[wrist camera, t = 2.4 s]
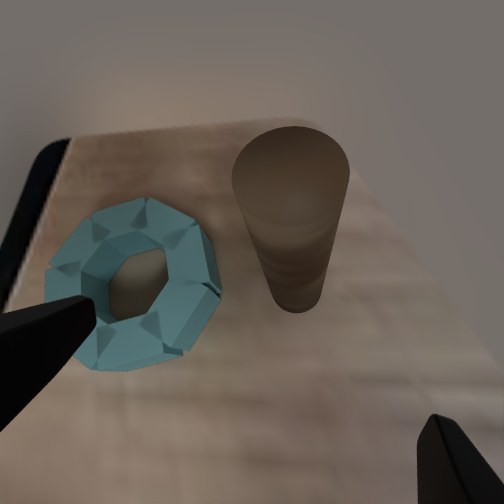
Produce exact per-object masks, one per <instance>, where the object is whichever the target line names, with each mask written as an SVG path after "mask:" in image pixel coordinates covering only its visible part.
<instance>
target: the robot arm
mask: <svg viewBox="0 0 504 504" xmlns="http://www.w3.org/2000/svg"><path fill="white" fill-rule="evenodd" d="M96 324H97V317H96V310H95V303H94V301H93V299H91V298H89V297H86V296H83V295H76V296H72V297H68V298H64V299H60V300H56V301H52V302H48V303H44V304H40V305H36V306H32V307H28V308H24V309H20V310H16V311H12V312H8V313H4V314H0V432H1V431H2V430H3V429H4V428H5V427H6V426H7V425H8V424H9V423H10V422H11V421H12V420H13V419H14V418H15V417H16V416H17V415H18V414H19V413H20V412H21V411H22V410H23V409H24V408H25V407H26V406H27V405H28V403H29V402H30V401H31V400H32V399H33V398H34V397H35V396H36V395H37V394H38V393H39V392H40V391H41V390H42V389H43V388H44V387H45V386H46V385H47V384H48V383H49V382H50V381H51V380H52V379H53V378H54V377H55V376H56V375H57V373H58V372H59V371H60V370H61V369H62V368H63V366H64V365H65V364H66V363H67V362H68V360H69V359H70V358H71V357H72V356H73V354H74V353H75V352H76V351H77V349H78V348H79V347H80V346H81V345H82V343H83V342H84V341H85V340H86V339H87V337H88V336H89V335H90V334H91V332H92V331H93V330H94V329H95V327H96ZM417 484H418V504H504V484H503V482H502V481H501V480H500V478H499V477H498V476H497V475H496V473H495V472H494V471H493V469H492V468H491V467H490V465H489V464H488V463H487V462H486V460H485V459H484V458H483V456H482V455H481V454H480V452H479V451H478V450H477V449H476V447H475V446H474V445H473V443H472V442H471V441H470V439H469V438H468V437H467V436H466V434H465V433H464V432H463V430H462V429H461V428H460V426H459V425H458V424H457V423H456V422H455V421H454V420H452V419H450V418H447V417H444V416H441V415H438V414H432V415H431V416H430V417H429V419H428V420H427V422H426V424H425V426H424V428H423V430H422V431H421V433H420V435H419V437H418V441H417Z"/></svg>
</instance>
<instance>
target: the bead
mask: <svg viewBox="0 0 504 504" xmlns="http://www.w3.org/2000/svg"><path fill="white" fill-rule="evenodd" d="M155 248H158V249H160V250H162V251H164V252H165V254H166V261H167V268H168V275H169V281H168V282H167V284H166V285H165V287H164V288H163V290H162V291H161V293H160V294H159V295H158V297H157V298H156V300H155V301H154V303H153V304H152V306H151V307H150V309H149V310H148V312H147V313H146V314H144V315H140V316H137V317H133V318H130V319H126V320H123V321H119V320H118V319H116V318H115V317H113V316H112V315H110V306H109V289H108V283H109V281H110V280H111V279H112V277H113V276H114V275H115V273H116V272H117V270H118V269H119V268H120V266H121V265H122V264H123V262H124V261H125V260H126V258H127V257H128V256H131V255H135V254H138V253H141V252H145V251H148V250H152V249H155ZM49 264H50V265H52V266H53V267H54V268H51V269H47V270H46V273H45V303H48V302H52V301H56V300H60V299H64V298H68V297H72V296H76V295H83V296H86V297H89V298H91V299H93V301H94V303H95V310H96V317H97V324H96V327H95V329H94V330H93V331H92V332H91V334H90V335H89V336H88V337H87V339H86V340H85V341H84V342H83V343H82V345H81V346H80V347H79V348H78V349H77V351H76V352H75V353H74V354H73V356H74V357H75V358H76V359H78V360H79V361H80V362H81V363H83V364H84V365H85V366H86V367H88V368H89V369H90V370H98V371H126V372H127V371H130V370H134V369H138V368H141V367H145V366H148V365H152V364H156V363H159V362H163V361H166V360H170V359H174V358H177V357H181V356H183V352H182V350H186V351H190V349H191V347H192V346H193V344H194V342H195V341H196V339H197V338H198V336H199V334H200V333H201V331H202V330H203V328H204V326H205V325H206V323H207V321H208V320H209V318H210V317H211V315H212V313H213V312H214V310H215V309H216V307H217V305H218V304H219V302H220V300H221V299H220V298H219V297H218V296H217V295H216V294H219V293H222V289H221V284H220V280H219V275H218V270H217V266H216V261H215V256H214V252H213V247H212V243H211V241H210V240H209V239H208V237H207V236H206V234H205V233H204V231H203V230H202V228H201V227H200V225H198V223H197V222H196V220H195V219H193V218H191V217H189V216H187V215H185V214H183V213H181V212H179V211H177V210H175V209H173V208H171V207H169V206H167V205H165V204H163V203H161V202H159V201H157V200H155V199H153V198H151V197H150V198H149V200H148V201H147V199H146V198H145V197H142V198H138V199H135V200H132V201H129V202H125V203H122V204H119V205H115V206H112V207H109V208H106V209H102V210H99V211H96V212H92V220H91V219H89V218H87V217H85V218H84V220H83V221H82V222H81V223H80V225H79V226H78V227H77V228H76V230H75V231H74V232H73V233H72V235H71V236H70V237H69V238H68V239H67V241H66V242H65V243H64V244H63V246H62V247H61V248H60V249H59V251H58V252H57V253H56V254H55V256H54V257H53V258H52V259H51V261H50V262H49Z"/></svg>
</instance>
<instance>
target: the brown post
mask: <svg viewBox="0 0 504 504" xmlns="http://www.w3.org/2000/svg"><path fill="white" fill-rule="evenodd" d="M349 175H350V170H349V163H348V160H347V157H346V155H345V153H344V151H343V149H342V148H341V147H340V145H339V144H338V143H337V142H336V141H335V140H334V139H332V138H331V137H329V136H328V135H326V134H324V133H322V132H320V131H318V130H315V129H311V128H307V127H298V126H291V127H282V128H277V129H273V130H271V131H268V132H265V133H263V134H261V135H260V136H258V137H256V138H255V139H253V140H252V141H251V142H250V143H248V144H247V145H246V146H245V147H244V149H243V150H242V151H241V152H240V154H239V156H238V157H237V159H236V161H235V164H234V167H233V171H232V185H233V190H234V193H235V196H236V198H237V201H238V204H239V206H240V209H241V212H242V214H243V217H244V220H245V223H246V225H247V228H248V231H249V233H250V236H251V239H252V241H253V244H254V247H255V249H256V252H257V255H258V258H259V260H260V263H261V266H262V268H263V271H264V274H265V276H266V279H267V282H268V284H269V287H270V290H271V293H272V295H273V298H274V300H275V302H276V303H277V304H278V305H279V306H280V307H281V308H282V309H284V310H286V311H288V312H291V313H302V312H306V311H308V310H310V309H311V308H313V307H314V306H315V305H316V304H317V302H318V301H319V298H320V295H321V291H322V287H323V283H324V279H325V275H326V271H327V267H328V263H329V259H330V255H331V251H332V247H333V243H334V239H335V235H336V231H337V227H338V223H339V219H340V215H341V210H342V206H343V202H344V198H345V194H346V190H347V186H348V182H349Z"/></svg>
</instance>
